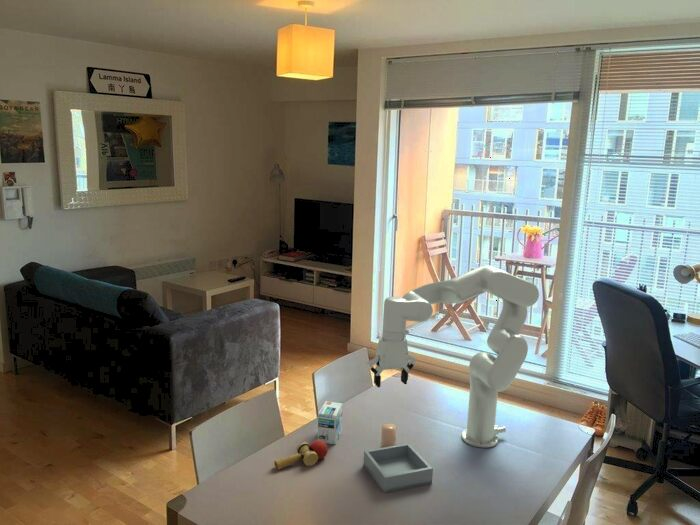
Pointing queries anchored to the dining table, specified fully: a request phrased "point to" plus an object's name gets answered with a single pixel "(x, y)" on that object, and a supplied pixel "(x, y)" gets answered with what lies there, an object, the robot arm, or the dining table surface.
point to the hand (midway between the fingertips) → (390, 384)
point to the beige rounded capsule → (388, 435)
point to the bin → (397, 467)
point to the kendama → (305, 454)
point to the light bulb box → (330, 422)
